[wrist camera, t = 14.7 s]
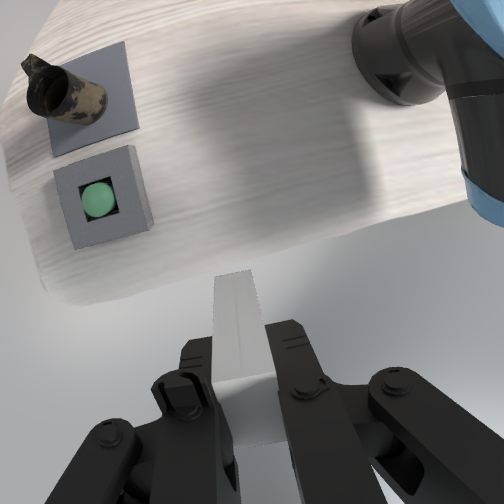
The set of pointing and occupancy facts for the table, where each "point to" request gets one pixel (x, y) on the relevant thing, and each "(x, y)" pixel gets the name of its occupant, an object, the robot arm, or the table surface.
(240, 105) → the table surface
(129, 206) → the button box
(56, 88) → the mug
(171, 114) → the table surface
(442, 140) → the table surface
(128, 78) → the mat
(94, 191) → the button
